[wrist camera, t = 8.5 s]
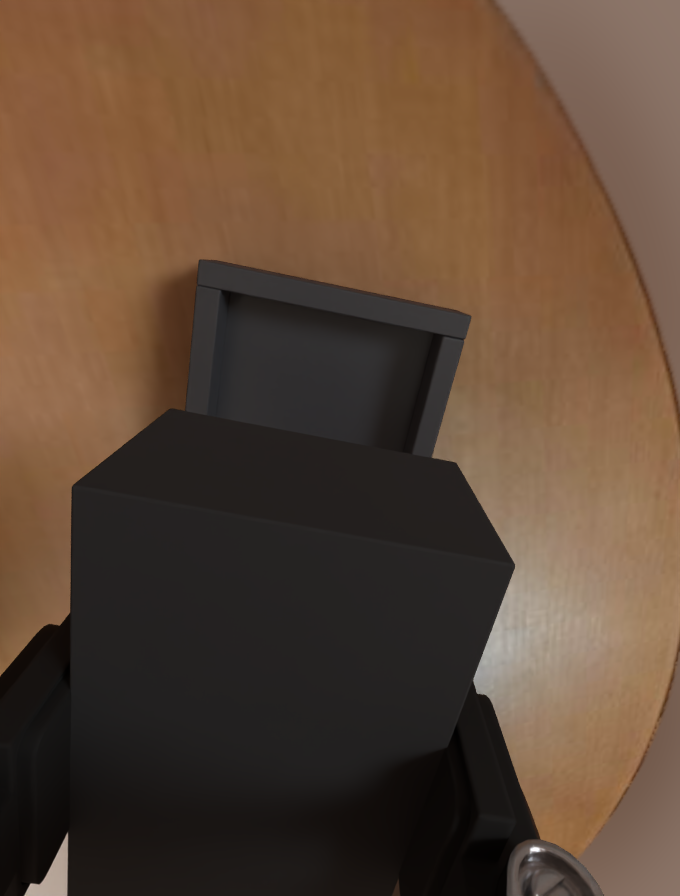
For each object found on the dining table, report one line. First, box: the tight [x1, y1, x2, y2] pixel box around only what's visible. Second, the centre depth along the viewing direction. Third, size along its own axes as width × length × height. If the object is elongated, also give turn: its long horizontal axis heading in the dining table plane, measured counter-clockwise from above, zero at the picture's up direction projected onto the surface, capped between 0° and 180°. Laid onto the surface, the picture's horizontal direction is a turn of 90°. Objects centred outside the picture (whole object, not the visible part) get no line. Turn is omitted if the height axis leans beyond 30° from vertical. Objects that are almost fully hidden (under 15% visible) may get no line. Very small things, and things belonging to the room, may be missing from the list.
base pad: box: [185, 260, 471, 458], centre depth 19 cm, size 14×9×2 cm
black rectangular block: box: [67, 409, 515, 896], centre depth 9 cm, size 10×6×4 cm, turn 169°
